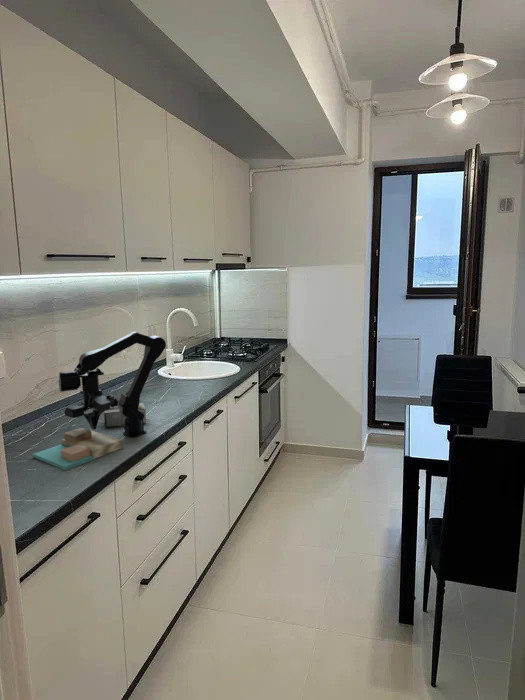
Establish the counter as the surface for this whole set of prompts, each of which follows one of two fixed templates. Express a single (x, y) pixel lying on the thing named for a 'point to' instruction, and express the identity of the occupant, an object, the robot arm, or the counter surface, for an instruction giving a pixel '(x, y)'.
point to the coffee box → (119, 416)
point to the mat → (59, 458)
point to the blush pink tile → (75, 452)
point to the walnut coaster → (78, 435)
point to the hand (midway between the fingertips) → (93, 429)
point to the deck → (98, 444)
